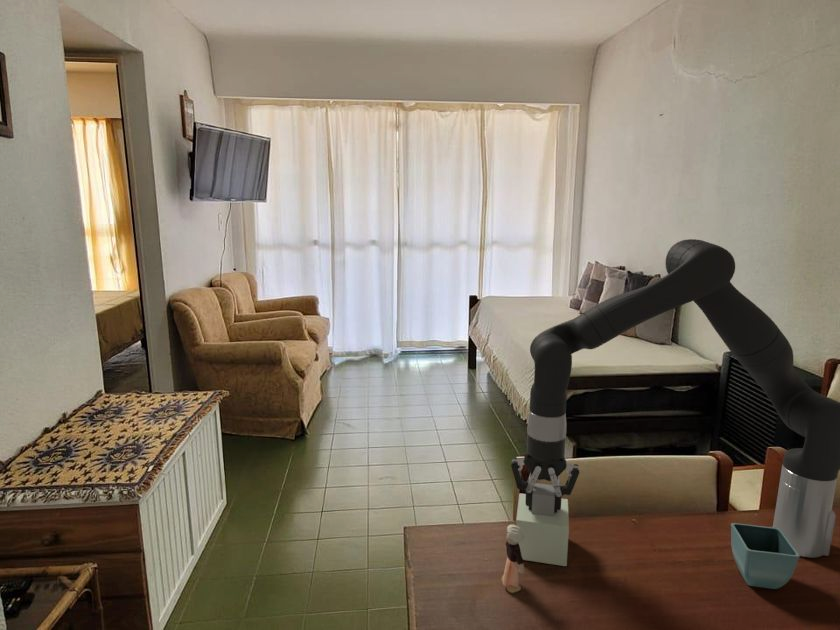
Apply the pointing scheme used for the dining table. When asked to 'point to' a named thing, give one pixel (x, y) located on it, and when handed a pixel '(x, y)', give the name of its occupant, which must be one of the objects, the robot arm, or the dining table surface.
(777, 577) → the flower pot
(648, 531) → the dining table surface
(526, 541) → the pale green cube
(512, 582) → the grandmother figurine
